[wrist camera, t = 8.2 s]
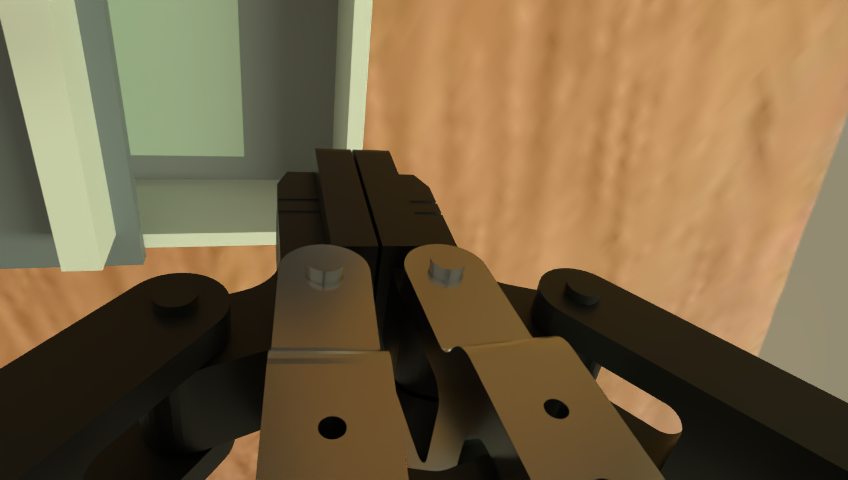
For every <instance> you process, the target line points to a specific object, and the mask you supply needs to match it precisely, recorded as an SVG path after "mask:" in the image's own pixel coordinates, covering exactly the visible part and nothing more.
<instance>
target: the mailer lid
mask: <svg viewBox="0 0 848 480" xmlns="http://www.w3.org/2000/svg"><path fill="white" fill-rule="evenodd" d="M145 257H146V253H145V246H144V240H143V233H142V226H141V220H140V213H139V207H138V200H137V193H136V187H135V180H134V173H133V167H132V160H131V154H130V147H129V140H128V134H127V127H126V120H125V114H124V107H123V100H122V94H121V87H120V81H119V74H118V67H117V61H116V54H115V47H114V41H113V34H112V28H111V21H110V14H109V8H108V1H107V0H0V269H12V268H46V267H61V271H95V270H103V268H104V266H114V265H143V264H144V261H145Z"/></svg>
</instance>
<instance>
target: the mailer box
mask: <svg viewBox="0 0 848 480" xmlns="http://www.w3.org/2000/svg"><path fill="white" fill-rule="evenodd" d="M107 1H108V8H109V14H110V21H111V28H112V34H113V41H114V47H115V54H116V61H117V67H118V74H119V81H120V87H121V94H122V100H123V107H124V114H125V120H126V127H127V134H128V140H129V147H130V154H131V160H132V167H133V173H134V180H135V187H136V193H137V200H138V207H139V213H140V220H141V226H142V233H143V240H144V246H145V248H152V247H196V246H240V245H276V212H277V183H278V182H279V181H280V180H281V178H282V177H283V176H284V175H285V174H286V172H287V171H289V172H312V157H313V149H314V148H325V149H350V150H351V152H352V150H353V149H354V150H362V149H363V134H364V119H365V105H366V90H367V75H368V61H369V46H370V31H371V16H372V2H373V0H107Z"/></svg>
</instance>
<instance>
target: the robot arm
mask: <svg viewBox="0 0 848 480" xmlns="http://www.w3.org/2000/svg"><path fill="white" fill-rule="evenodd" d="M435 202H436V201H435V199H434V197H433V195H432V192H431V190H430V188H429V187H428V186H427V185H426V184H424V183H423V182H422V181H421V180H419V179H418V178H417V177H416V176H414V175H400V174H398V172H397V169H396V167H395V164H394V162H393V159H392V157H391V154H390V152H389V151H380V150H354V149H353V150H352V152H351V150H350V149H325V148H314V149H313V157H312V172H289V171H287V172H286V174H285V175H284V176H283V177H282V178H281V180H280V181H279V182H278V183H277V212H276V263H277V271H276V272H275V274H274V275H273V276H272V277H271V278H269V279H268V280H267V281H265V282H264V283H262V284H260V285H258V286H255V287H253V288H251V289H247V290H244V291H240V292H236V293H231V294H229V293H228V291H227V290H226V288H225V287H224V286H223V285H222V284H220V283H219V282H218V281H216V280H214V279H212V278H209V277H207V276H203V275H199V274H192V273H173V274H166V275H161V276H157V277H154V278H151V279H148V280H146V281H143V282H142V283H140V284H138V285H136V286H134V287H133V288H131V289H129V290H128V291H126V292H125V293H123V294H121V295H120V296H118V297H116V298H115V299H113V300H112V301H110V302H108V303H107V304H105V305H103V306H102V307H100V308H99V309H97V310H95V311H94V312H92V313H90V314H89V315H87V316H86V317H84V318H82V319H81V320H79V321H77V322H76V323H74V324H72V325H71V326H69V327H68V328H66V329H64V330H63V331H61V332H59V333H58V334H56V335H55V336H53V337H51V338H50V339H48V340H46V341H45V342H43V343H42V344H40V345H38V346H37V347H35V348H33V349H32V350H30V351H29V352H27V353H25V354H24V355H22V356H20V357H19V358H17V359H16V360H14V361H12V362H11V363H9V364H7V365H6V366H4V367H3V368H1V369H0V480H205V479H206V478H207V477H208V476H209V475H210V474H211V473H212V472H213V471H214V470H215V469H216V468H217V467H218V465H219V464H220V463H221V462H222V461H223V460H224V459H225V458H226V457H227V455H228V454H229V453H230V451H231V449H232V447H233V444H234V441H235V439H237V438H240V437H242V436H245V435H248V434H250V433H253V432H256V431H259V430H260V440H259V451H258V461H257V472H256V480H848V403H847V402H845V401H843V400H841V399H839V398H837V397H835V396H833V395H831V394H829V393H827V392H825V391H823V390H821V389H819V388H817V387H815V386H813V385H811V384H809V383H807V382H805V381H803V380H802V379H800V378H797V377H796V376H793V375H792V374H790V373H788V372H786V371H784V370H781V369H780V368H778V367H776V366H774V365H772V364H770V363H768V362H766V361H764V360H762V359H760V358H758V357H756V356H754V355H752V354H750V353H748V352H746V351H744V350H742V349H740V348H739V347H737V346H735V345H733V344H731V343H729V342H727V341H725V340H723V339H721V338H719V337H717V336H715V335H713V334H711V333H709V332H707V331H705V330H703V329H701V328H699V327H697V326H695V325H693V324H691V323H689V322H687V321H685V320H683V319H681V318H679V317H678V316H676V315H674V314H672V313H670V312H668V311H666V310H664V309H662V308H660V307H658V306H656V305H654V304H652V303H650V302H648V301H646V300H644V299H642V298H640V297H638V296H636V295H634V294H632V293H630V292H628V291H626V290H624V289H622V288H620V287H618V286H617V285H615V284H613V283H611V282H609V281H607V280H605V279H603V278H601V277H599V276H596V275H594V274H592V273H589V272H586V271H582V270H577V269H570V268H560V269H554V270H551V271H548V272H547V273H545V274H544V275H543V276H542V277H541V279H540V281H539V285H538V288H537V290H534V289H528V288H523V287H518V286H513V285H508V284H503V283H500V282H496V280H495V279H494V277H493V276H492V274H491V272H490V271H489V269H488V268H487V266H486V265H485V264H484V262H483V261H482V260H481V259H480V258H479V257H477V256H476V255H474V254H473V253H471V252H469V251H467V250H464V249H462V248H459V247H457V245H456V243H455V241H454V239H453V237H452V234H451V232H450V230H449V228H448V226H447V224H446V222H445V220H444V218H443V216H442V215H441V211H440V209H439V207H438V205H437V204H436V203H435ZM601 366H602V367H604V368H606V369H608V370H609V371H611V372H613V373H614V374H616V375H618V376H619V377H621V378H623V379H625V380H626V381H628V382H630V383H631V384H633V385H635V386H637V387H638V388H640V389H642V390H643V391H645V392H647V393H649V394H650V395H652V396H654V397H655V398H657V399H659V400H661V401H662V402H664V403H666V404H667V405H669V406H670V407H671V408H672V409H673V410H674V411H675V412H676V413H677V415H678V416H679V418H680V420H681V423H682V431H681V432H680V433H677V434H666V433H663V432H660V431H658V430H656V429H655V428H653V427H652V426H650V425H648V424H647V423H645V422H643V421H642V420H640V419H638V418H637V417H635V416H633V415H632V414H630V413H629V412H627V411H625V410H624V409H622V408H620V407H619V406H617V405H615V404H614V403H612V402H611V401H609V399H608V398H607V396H606V395H605V394H604V392H603V391H602V389H601V388H600V387H599V385H598V384H597V382H596V378H597V376H598V373H599V371H600V369H601ZM405 453H406V456H407V459H408V462H409V465H410V468H407V464H406V457H405Z"/></svg>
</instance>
